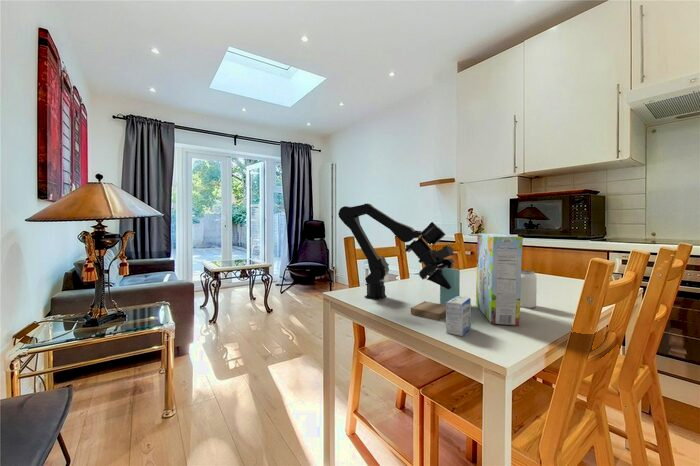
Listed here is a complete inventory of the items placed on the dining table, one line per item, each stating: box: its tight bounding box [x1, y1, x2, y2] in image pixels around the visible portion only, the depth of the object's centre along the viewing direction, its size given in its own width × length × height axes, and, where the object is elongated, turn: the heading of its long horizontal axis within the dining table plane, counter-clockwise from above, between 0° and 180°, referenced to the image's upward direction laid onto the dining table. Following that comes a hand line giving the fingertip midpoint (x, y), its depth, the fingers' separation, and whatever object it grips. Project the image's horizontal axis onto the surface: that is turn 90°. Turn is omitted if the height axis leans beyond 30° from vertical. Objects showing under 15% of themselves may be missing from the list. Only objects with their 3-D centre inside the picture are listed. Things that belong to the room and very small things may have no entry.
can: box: [520, 269, 538, 309], centre depth 104 cm, size 6×6×12 cm
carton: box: [439, 268, 461, 305], centre depth 105 cm, size 5×5×13 cm
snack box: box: [475, 233, 524, 327], centre depth 95 cm, size 22×9×26 cm, turn 168°
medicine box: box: [445, 296, 472, 337], centre depth 82 cm, size 8×4×9 cm, turn 143°
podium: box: [410, 300, 446, 321], centre depth 98 cm, size 10×10×2 cm
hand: (453, 286), depth 104 cm, fingers open, 7 cm apart
